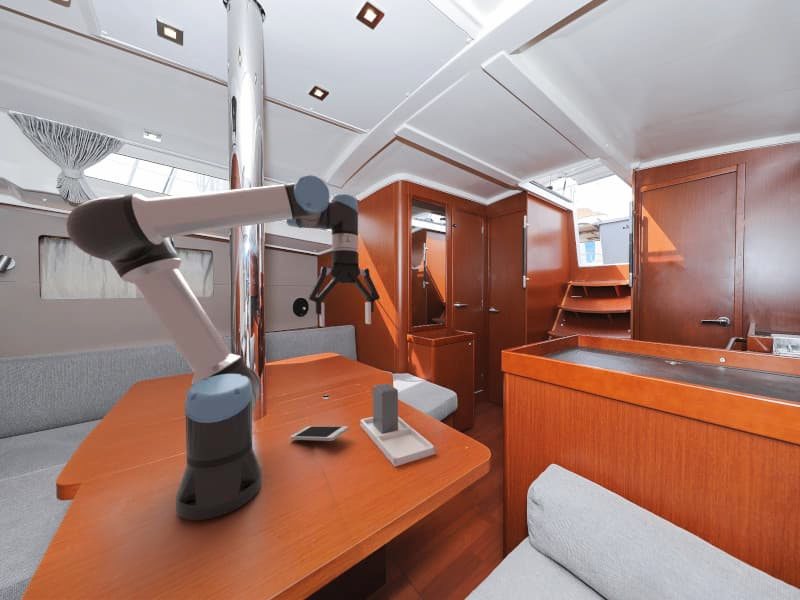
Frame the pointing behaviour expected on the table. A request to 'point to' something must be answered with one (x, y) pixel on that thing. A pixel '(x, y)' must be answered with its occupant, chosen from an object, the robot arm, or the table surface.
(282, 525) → the table surface
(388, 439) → the dock
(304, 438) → the smartphone
